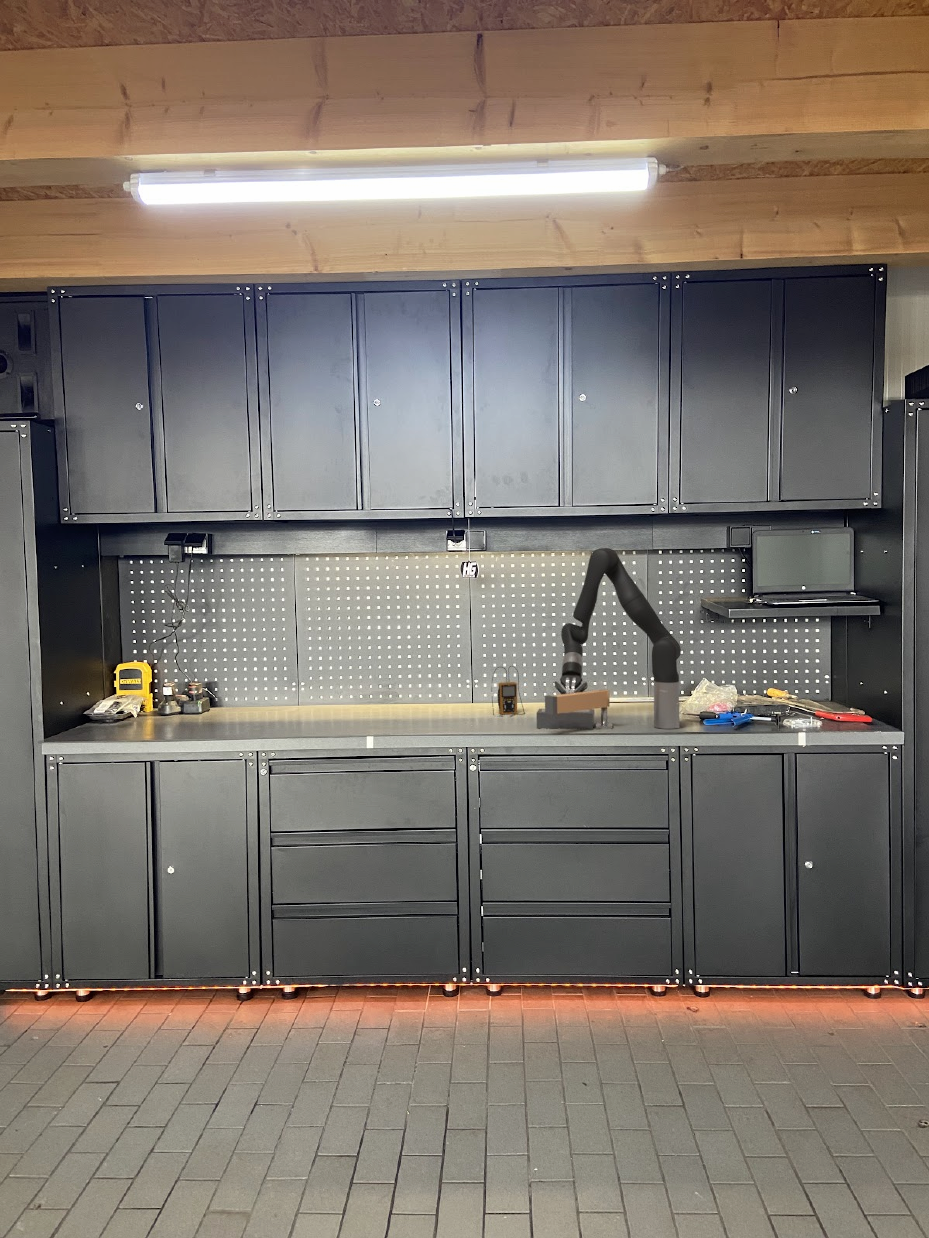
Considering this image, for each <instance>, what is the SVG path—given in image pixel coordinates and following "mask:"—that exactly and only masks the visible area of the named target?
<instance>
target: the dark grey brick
mask: <svg viewBox="0 0 929 1238" xmlns="http://www.w3.org/2000/svg"><path fill="white" fill-rule="evenodd" d="M593 727H595V709H588V710H581V711H573V712H566V713H558V714H556V715H551V714H546V713H545V708H539V709H538V710H537V711H536V729H542V728H546V729H548V728H549V730H550V729H552V730H594V728H593ZM556 728H557V729H556ZM558 728H560V729H558ZM542 730H543V729H542Z"/></svg>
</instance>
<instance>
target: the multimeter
mask: <svg viewBox="0 0 929 1238" xmlns="http://www.w3.org/2000/svg"><path fill="white" fill-rule="evenodd" d="M510 667H513V668H515V666H513V665H509V667H508V672H507V669H506V668H505V667H503V666H501V668H503V669H504V670H505V682H499V683H498V689H497V704H498V705H497V706H498V715H499V716H498V717H504V715H509V717H510V716H511V717H513V716H515V715H516V716H517V715H518V716H519V715H520V716H521V713H518V695H519V700H520V703H521V707H522V710H523V715H525V714H526V712H525V708H524V706H523V702H522V698H521V693H520V690H519V689H520V686H519V684H520V683H519V682H520V681H519V678H520V677H519V671H518V669H517V668H515V669H516V673H517V682H515V681H511V679H510V675H508V674H510ZM499 668H500V666H497V667H496V668H495V670H494V671H493V674H492V679H491V682H494V675H495V673H496V670H497V669H499ZM507 673H508V674H507ZM490 690H491V691H493V688H491V689H490ZM491 703H492V706H494V701H493V697H491ZM494 711H495V710H494V709H492V713H493V714H492V715H495V713H494ZM502 714H504V715H502Z"/></svg>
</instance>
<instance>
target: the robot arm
mask: <svg viewBox="0 0 929 1238" xmlns="http://www.w3.org/2000/svg"><path fill="white" fill-rule="evenodd" d="M589 556H590V557H589V560H588V565H587V569H586V575H585V578H584V582H583V585H582V589H581V591H580V594H579V598H578V600H577V603H576V604H575V607H574V610H573V613H572V616H573V619H575V620H576V621H578V622H579V623H581V625H577V624H574V623H571V622H569V623H568V622H567V623H565V624H564V625H563V626H562V628H561V630H560V634H561V635H560V636H561V640H562V645H563V649H564V651H563V659H562V669H561V677H560V678H559V681H554V687H555V689H556V690H557V692H559V693H560V695H561V694H570V693H578V692H585V691H586V690H587V689H588V687H589V686H588V682H587V681H584V680H583V677H582V675H583V653H584V652H583V651H584V650H583V645H584V644H586V643H587V641H588V639H589V638H588V637H589V632H590V631H589V629H590V624H591V623H590V622H591V619H592V616H593V613H594V610H595V608H596V604H597V601H598V594H599V587H600V585H601V582H602V580H603V577H604V576H605V575H606V576H607V578H608V580H609V581H610V582H611V583H612V585H613V587H614V589H615V592H616V593H615V594H616V596H617V598H618V601H619V604H620V606H621V608H622V609H623V610H624V612H625V614H626V615H627V616H628V617H629V619H630V620H631V621H632V622H633V624H635V626H637V627H638V628H639V629H640V630H642V632H644V633H645V635H646V636H647V637H648V638H649V640H650V642H651V643H652V644H653V646H652V649H651V668H652V669H651V670H652V671H651V672H652V676H653V727H654V728H656V729H664V730H665V729H666V730H667V729H669V730H670V729H671V730H673V729H680V675H679V672H678V667H677V665H678V664H677V663H678V662H677V660H678V659H679V658H680V656H681V653H682V649H681V648H682V647H681V646H680V643H679V642H678V640H677V639H675V637H674V636H673V635H672V634H671V632H670V631H668V630H667V628H666V627H665V626H664V624H663V623H662V621H661V620H660V618H659V616H658V615H657V613H656V612H655V609H654V608H653V607H652V606H651V604H650V602H649V600H648V599H647V598H646V597H645V594H643V592H642V591H641V590H640V588H639V587H638V585H637V584H636V583H635V581H634V579H633V578H632V577H631V576H630V575H629V573H628V571H627V570H626V568H625V566H624V564H623V562H622V560H621V558H620V557H619V555H618V553H617V552H616V551H615V550H613V549H612V548H611V547H601V548H599V547H598V548H596V549H595V550H593V551H592V552H591V554H590V555H589Z"/></svg>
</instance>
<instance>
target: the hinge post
mask: <svg viewBox="0 0 929 1238" xmlns="http://www.w3.org/2000/svg"><path fill="white" fill-rule="evenodd" d="M612 726H613V727H614V725H613V723H608V707H603V708H600V722H596V724H595V729H596V728H606V729H607V730H612V729H613V727H612Z"/></svg>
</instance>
